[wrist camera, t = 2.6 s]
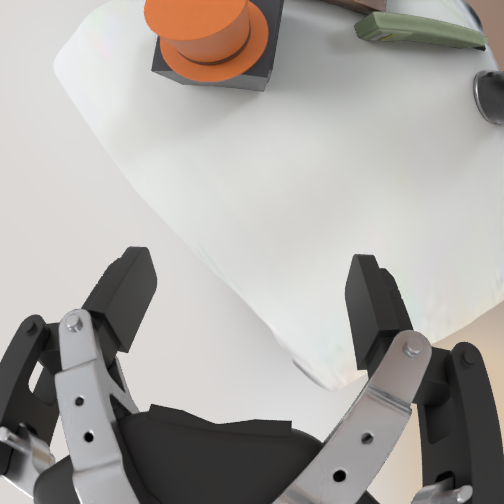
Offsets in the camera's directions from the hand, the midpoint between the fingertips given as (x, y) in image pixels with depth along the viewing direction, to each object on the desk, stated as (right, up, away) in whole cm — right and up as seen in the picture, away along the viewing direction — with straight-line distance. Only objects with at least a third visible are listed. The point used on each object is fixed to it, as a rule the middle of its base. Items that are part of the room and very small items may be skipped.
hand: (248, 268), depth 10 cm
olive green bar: (+26, +32, +13) cm, 43 cm away
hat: (-3, +18, +7) cm, 20 cm away
